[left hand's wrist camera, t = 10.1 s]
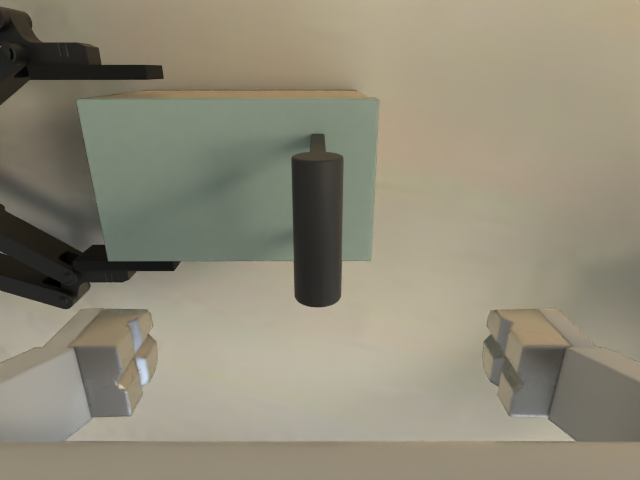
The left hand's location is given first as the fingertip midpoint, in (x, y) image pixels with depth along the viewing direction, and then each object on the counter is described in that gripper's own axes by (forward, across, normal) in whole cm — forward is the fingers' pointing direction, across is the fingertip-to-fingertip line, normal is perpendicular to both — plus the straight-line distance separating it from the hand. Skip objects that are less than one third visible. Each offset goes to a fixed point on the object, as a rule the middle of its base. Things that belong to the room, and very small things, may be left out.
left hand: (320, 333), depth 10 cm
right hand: (+18, -10, 0) cm, 20 cm away
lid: (+16, -5, 0) cm, 16 cm away
